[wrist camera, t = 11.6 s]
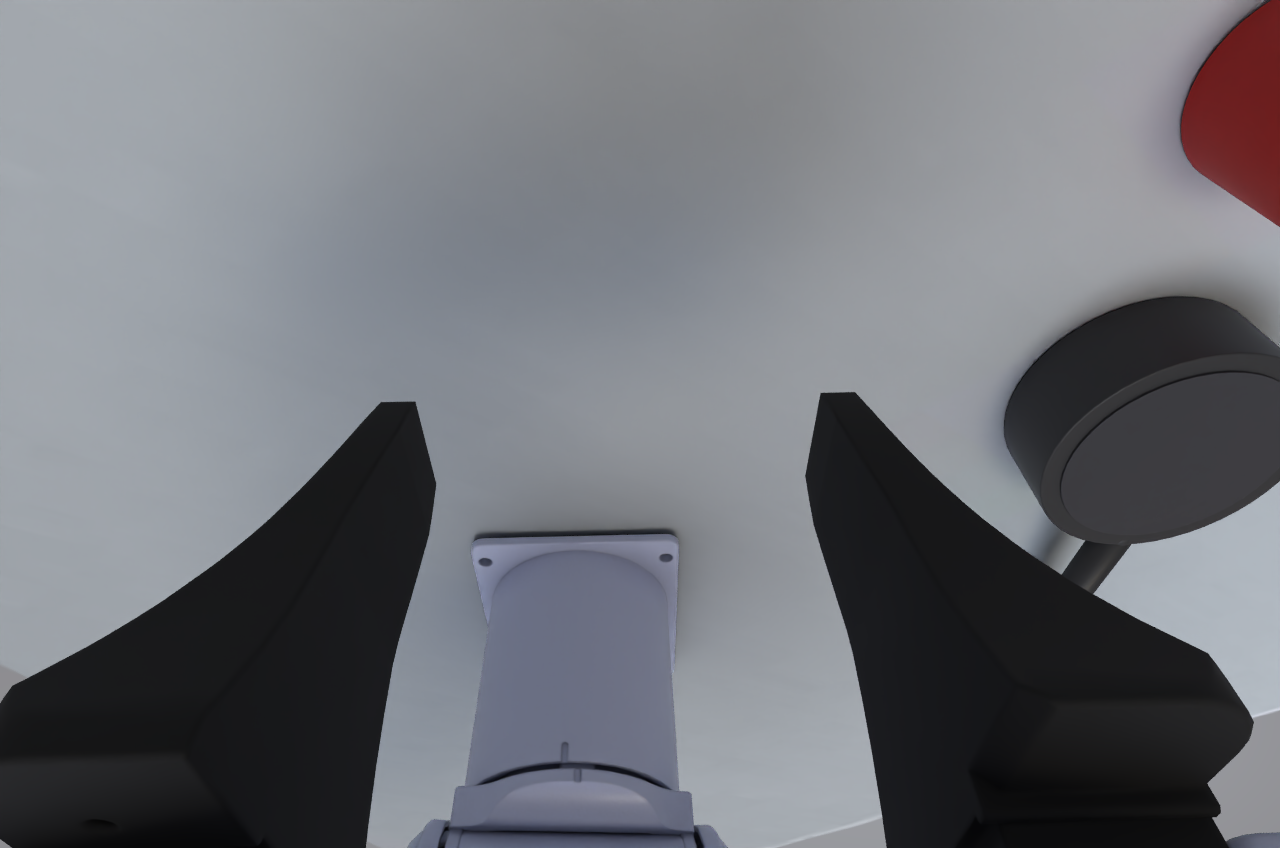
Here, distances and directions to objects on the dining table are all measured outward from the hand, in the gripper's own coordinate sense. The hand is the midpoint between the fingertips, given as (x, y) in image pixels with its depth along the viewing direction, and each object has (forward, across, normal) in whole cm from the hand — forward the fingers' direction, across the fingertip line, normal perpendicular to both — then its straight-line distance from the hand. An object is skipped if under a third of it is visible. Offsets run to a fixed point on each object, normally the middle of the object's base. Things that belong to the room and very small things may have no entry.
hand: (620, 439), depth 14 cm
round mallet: (+9, -17, +16) cm, 25 cm away
